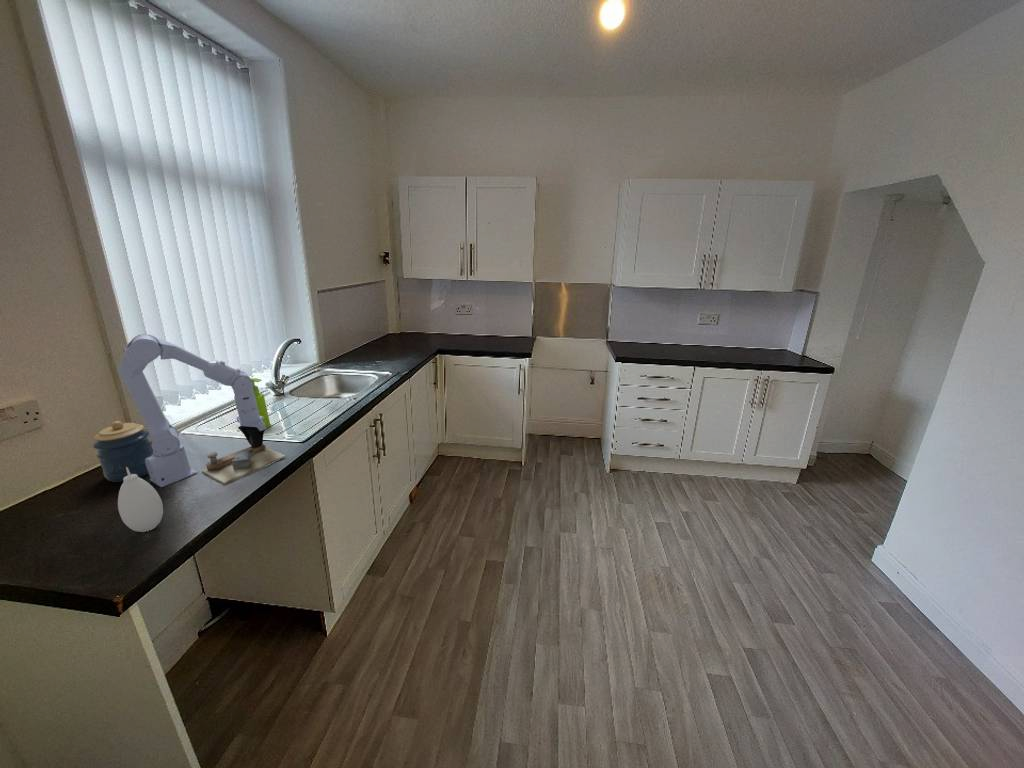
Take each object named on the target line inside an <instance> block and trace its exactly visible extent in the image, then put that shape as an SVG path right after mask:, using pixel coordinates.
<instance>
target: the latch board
mask: <svg viewBox="0 0 1024 768" xmlns="http://www.w3.org/2000/svg"><path fill="white" fill-rule="evenodd" d="M265 447H266V446H265ZM284 457H286V455H285V454H283V453H280V452H278V451H275V450H274V449H271V448H269V447H266V449H264V450H261V451H259V452H256V453H254V454H253V455H252V456H251V458H250V460H251V464H252V466H251V467H250V468H247V469H240V470H234V469H233V466H232V463H229V464H227V465H224V466H223V467H222V468H220V469H217V470H207V467H206V468H203V469H201V472H202V474H204V475H207V476H208V477H210V478H212V479H213V480H215V481H217V482H218V483H221V484H222V485H228V484H229V482H230V483H232V482H234V481H236V480H239V479H241V478H243V477H246V476H247V474H248V475H250V474H252V473H254V472H253V471H255V470H257V469H259V468H261V469H263V468H262V467H264V466H266V465H268V464H270V463H272V462H274V461H276V460H279V459H281V458H284ZM286 458H287V457H286ZM284 459H285V458H284ZM279 461H280V460H279ZM270 465H271V464H270ZM268 466H269V465H268ZM266 467H267V466H266ZM264 468H265V467H264ZM259 470H260V469H259ZM257 471H258V470H257ZM251 472H252V473H251ZM255 472H256V471H255ZM249 473H250V474H249ZM245 475H246V476H245Z"/></svg>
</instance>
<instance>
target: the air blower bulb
mask: <svg viewBox="0 0 1024 768" xmlns="http://www.w3.org/2000/svg"><path fill="white" fill-rule="evenodd" d="M126 470H127V474H128V476H125V477H124V478H123V482H122V484H121V486H120V489H119V491H118V497H117V509H118V513H119V515H120V518H121V521H122V522H123V524H125V526H126V527H128V528H129V529H130V530H132V531H134V532H140V533H146V531H147V532H150V531H152V530H153V529H155V528H157V526H158V525H159V524H160V522H161V521H162V518H163V516H164V515H163V514H164V504H163V501H162V498H161V496H160V495H159V493H158V491H157V490H156V488H154V486H153V485H151V484H150V483H149V482H148V481H146V480H145V479H143V478H142V477H138V476H137V475H136V474H130V472H129V469H128V468H127V467H126ZM149 530H150V531H149Z"/></svg>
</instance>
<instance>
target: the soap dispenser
mask: <svg viewBox="0 0 1024 768" xmlns="http://www.w3.org/2000/svg"><path fill="white" fill-rule="evenodd" d="M250 378H251V380H252V382H253V383H254V386H253V393H254V394H255V398H256V402H257V407H258V411H259V415H260V416H263V417H264V419H262V421H263V423H265V425H266V429H267V428H269V427H270V426H271V421H270V417H269V412H268V407H267V404H266V403H267V402H266V399H265V396H264V393H261V392H260V389H259V386H258V385H256V384H255V383H260V382H261V381H262V379H261V378H256V377H255V378H252V377H250Z"/></svg>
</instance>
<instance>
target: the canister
mask: <svg viewBox="0 0 1024 768" xmlns="http://www.w3.org/2000/svg"><path fill="white" fill-rule="evenodd" d="M110 425H111V426H108V427H105V428H103V429H102V430H100V431H99V432H98V433H97V434H96V435H94V437H93V439H94V440H95V442H94V443H93V445H92V447H93V449H95V450H97V454H96V457H97V458H98V461H99V463H100V466H101V469H102V471H103V476H104V478H105V479H106V480H107V481H108V482H110V481H111V483H121V482H122V483H123V482H124V481H123V478H124V477H125V476H128V474H127V470H126V467H127V468H128V469H129V472H130V474H136V475H137V476H138V477H139V478H142V477H144V476H146V475H149V473H148V470H147V467H146V464H145V459H146V458H148V457H150V456H152V455H153V451H154V450H153V449H152V442H153V440H152V439H150V436H149V435H150V433H149V430H147V429H144V428H145V426H144V425H143V424H139V423H136V422H125V423H123V421H120V420H115V421H113V422H112V423H111V424H110Z"/></svg>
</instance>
